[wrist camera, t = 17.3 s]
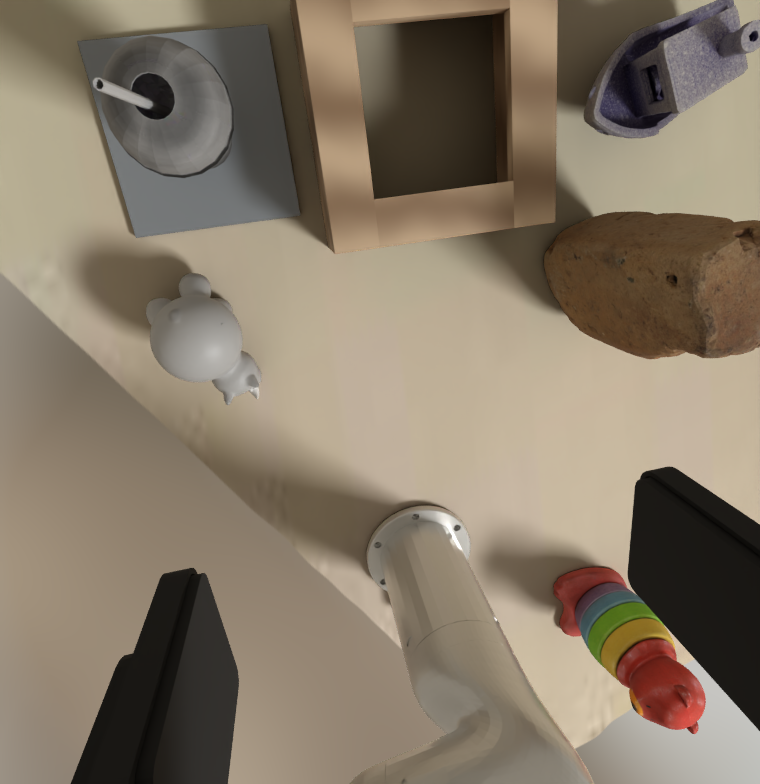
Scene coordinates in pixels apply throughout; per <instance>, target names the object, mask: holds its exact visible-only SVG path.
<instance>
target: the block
mask: <svg viewBox="0 0 760 784" xmlns="http://www.w3.org/2000/svg"><path fill="white" fill-rule="evenodd" d="M544 268H545V272H546V276H547V280H548V283H549V287H550V289H551V291H552V293H553V295H554V297H555V298H556V299H557V300H558V301H559V303H560V307H561V308H562V310H563V311H564V313H565V314H566V315H567V316H568V318H569V320H570V321H571V322H572V323H573V324H574V325H575V326H576V327H578V328H579V330H580V331H582V332H583V333H585V334H587V335H589V336H590V337H592V338H594V339H597V340H599V341H602V342H604V343H606V344H608V345H610V346H613V347H615V348H617V349H620V350H622V351H625V352H627V353H630V354H633V355H635V356H639V357H643V358H646V359H658V358H660V357H672V356H678V355H680V354H682V353H685V352H688V353H690V354H695V355H697V356H699V357H702V358H722V357H727V356H729V355H739V354H744V353H747V352H750V351H752V350H754V349H755V348H756V347H760V221H756V220H751V221H740V222H733V221H732V220H730V219H728V218H721V217H714V216H704V215H693V214H681V213H663V214H653V213H649V212H613V213H607V214H602V215H599V216H595V217H592V218H589V219H587V220H584V221H582V222H580V223H578V224H575V225H573V226H571V227H569V228H567V229H565V230H564V231H562V232H561V233H560V234H559V235H558V236H557V238H556V240H555V242H554V243H553V244H552V245H551V246H550V248H549V249H548V250H547V251H546V253H545V256H544Z"/></svg>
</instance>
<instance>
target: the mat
mask: <svg viewBox="0 0 760 784" xmlns="http://www.w3.org/2000/svg"><path fill="white" fill-rule="evenodd" d="M145 36H150V35H140V36H129V37H118V38H107V39H96V40H85V41H77V42H78V46H79V49H80V52H81V56H82V59H83V62H84V66H85V69H86V73H87V76H88V79H89V83H90V86H91V89H92V93H93V96H94V99H95V103H96V106H97V109H98V113H99V116H100V119H101V123H102V126H103V129H104V133H105V136H106V139H107V143H108V146H109V149H110V153H111V156H112V159H113V163H114V166H115V169H116V173H117V176H118V179H119V183H120V186H121V189H122V193H123V196H124V199H125V203H126V206H127V210H128V213H129V216H130V220H131V223H132V226H133V230H134V233H135V236H136V238H138V237H145V236H153V235H160V234H168V233H175V232H182V231H190V230H197V229H205V228H212V227H219V226H227V225H234V224H242V223H249V222H256V221H264V220H271V219H279V218H286V217H293V216H300V210H299V204H298V199H297V193H296V187H295V181H294V176H293V170H292V164H291V158H290V153H289V147H288V141H287V136H286V130H285V124H284V118H283V113H282V107H281V101H280V95H279V90H278V84H277V78H276V73H275V67H274V61H273V55H272V50H271V44H270V38H269V32H268V27H267V24H263V25H252V26H241V27H230V28H218V29H207V30H196V31H185V32H174V33H163V34H152V35H151V36H157V37H164V38H171V39H174V40H176V41H179V42H181V43H183V44H185V45H187V46H189V47H191V48H193V49H195V50H197V51H198V52H199V53H200V54H201V55H203V56H204V57H205V58H206V59H207V60H208V61H209V62H210V63H211V64H212V65H213V66H214V67H215V68H216V70H217V71H218V73H219V74H220V76H221V78H222V79H223V81H224V82H225V84H226V86H227V88H228V91H229V94H230V98H231V101H232V104H233V108H234V131H233V135H232V142H233V145H232V149H231V152H230V155H229V156H228V158H227V159H226V161H225V162H224V163H222V164H221V165H219V166H218V167H216V168H212V169H209V170H207V171H206V172H204V173H203V174H200V175H196V176H191V177H187V178H177V177H167V176H163V175H160V174H158V173H156V172H153V171H151V170H149V169H146V168H144V167H143V166H142V165H141V164H140V163H138V162H137V161H136V160H135V159H133V158H132V157H131V156H130V155H128V154H127V152H126V151H125V150H124V148H123V147H122V146H121V144H120V143H119V141H118V140H117V139H116V137H115V136H114V134H113V133H112V132H111V130H110V128H109V125H108V123H107V120H106V118H105V115H104V112H103V110H102V103H101V93H100V91H98V90H97V89H96V88H94V87H93V80H94V78H102V75H103V71H104V67H105V65H106V64H107V62H108V61H109V59H110V57H111V56H112V54H113V53H114V51H115V50H116V49H118V48H119V47H121V46H122V45H124V44H125V43H127V42H128V41H129V40H131V39H136V38H140V37H145Z"/></svg>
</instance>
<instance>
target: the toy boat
mask: <svg viewBox="0 0 760 784" xmlns="http://www.w3.org/2000/svg"><path fill="white" fill-rule="evenodd" d="M759 47H760V20H755V21H752V22H749V23H747V24H745V25H744V26H742V27H740V20H739V14H738V11H737V8H736V6H734V1H733V0H717V1H714V2H712V3H710V4H707V5H705V6H702V7H700V8H698V9H696V10H693V11H690V12H688V13H685V14H683V15H680V16H677V17H674V18H672V19H669V20H666V21H663V22H661V23H657V24H654V25H651V26H648V27H645V28H643V29H640V30H638V31H636V32H633V33H632V34H630V35H629V36H628V37H627V39H626V40H625V41H624V42H623V43H622V44H621V45H620V46H619V47H618V48H617V49H616V50H615V51H614V53H613V54H612V55H611V56H610V57H609V59H608V60H607V61H606V63H605V64H604V66H603V67H602V69H601V71H600V72H599V74H598V76H597V78H596V80H595V82H594V84H593V86H592V88H591V90H590V93H589V96H588V99H587V103H586V107H585V110H584V120H585V122H586V123H587V124H589V125H590V126H592V127H593V128H594V129H595V130H597V131H598V132H600V133H603V134H605V135H613V136H618V137H624V138H645V137H649V136H654V135H656V134H658V132H659V130H660V129H661V128H663V127H664V126H666V125H667V124H668V123H669V122H670V121H672V120H673V119H674V118H675V117H676V116H677V115H678V114H680V113H681V112H684V111H686V110H687V109H689V108H690V107H692V106H693V105H695V104H696V103H697V102H699V101H701V100H703V99H704V98H706V97H707V96H709V95H710V94H712V93H713V92H715V91H716V90H718V89H720V88H721V87H723V86H724V85H726V84H727V83H729V82H731V81H732V80H734V79H735V78H737V77H739V76H740V75H742V74H743V73H744V72H745V71H746V70H747V68H748V66H747V60H746V55H745V54H746V53H750V52H753V51H755V50H756V49H758V48H759Z"/></svg>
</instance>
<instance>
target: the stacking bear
mask: <svg viewBox="0 0 760 784" xmlns="http://www.w3.org/2000/svg"><path fill="white" fill-rule="evenodd" d="M554 595H555V596H556V597H557V598H558V599H559V600H560V601H562V603H563V606H564V611H563V614H562V616H561V618H560V622H559V623H560V626H561V629H562V631H563V632H564V633H565V634H567V635H570V636H581V635H582V637H583V639H584V641H585V643H586V645H587V647H588V649H589V650H590V652H591V654H592V655H593V656H594V657H595V659H596V660H597V661H598V662H599V663H600V664H601V665H602V666H603V667H604V668H606V670H607V671H608V672H609V673H610V674H611V675H612V676H614V677H615V678H616V679H617V680H619V681H620V683H621V684H622V685H624V686H626V687H628V688H630V690H629V694H630V699H631V703H632V706H633V708H634V710H635V711H636V712H637V713H638V714H639V715H641V716H642V717H643V718H645V719H647V720H650V721H652V722H654V723H657V724H659V725H661V726H664V727H667V728H669V729H675V730H679V729H685V728H687V729H688V730H689V731H690V732H691V733H692V734H695V733H696V732H697V731H698V723H697V720H699V719H700V717H701V716H702V714H703V711H704V709H705V703H706V701H705V693H704V691H703V688H702V686H701V684H700V682H699V681H698V680H697V678H696V677H695V676H694V675H693V674H692V673H691V672H690V671H689V670H688V669H687V668H686V667H684V666H683V665H682V664H680V663H679V662H677V661H676V652H675V645H674V642H673V640H672V638H671V636H670V634H669V633H668V631H667V629H666V628H665V627H664V624H663V623H662V622H661V621H660V619H659V618H658V617H657V616H656V615H655V614H654V613H653V612H652V611H651V609H650V608H649V607H648V606H647V605H646V604H645V603H644V602H643V601H642V599H641V598H640V597H639V596H637V595H636V594H634V593H633V592H632V591H630V590H629V589H627V586H626V584H625V582H624V580H623V578H622V577H621V576H620V575H619V574H618V573H617V572H615V571H614V570H611V569H607V568H584V569H579V570H576V571H572V572H570V573H567V574H565V575H563V576H561V577H559V578H558V580H557V581H556V583H555V584H554Z"/></svg>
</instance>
